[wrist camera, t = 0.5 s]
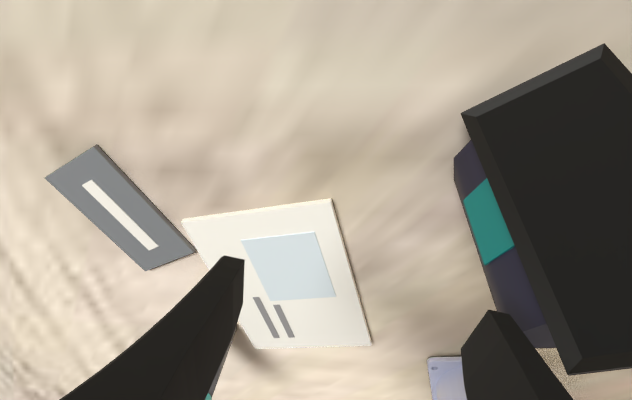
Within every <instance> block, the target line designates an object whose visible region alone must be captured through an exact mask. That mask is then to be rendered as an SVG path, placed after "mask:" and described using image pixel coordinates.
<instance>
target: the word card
mask: <svg viewBox="0 0 632 400" xmlns="http://www.w3.org/2000/svg"><path fill="white" fill-rule="evenodd" d="M45 179H46V180H47V181H48V182H49V183H50V184H52V185H53V186H54V187H55V188H56V189H57V190H58V191H59V192H60V193H61V194H62V195H63V196H64V197H66V198H67V199H68V200H69V201H70V202H71V203H72V204H73V205H74V206H75V207H76V208H77V209H79V210H80V211H81V212H82V213H83V214H84V215H85V216H86V217H87V218H88V219H89V220H90V221H91V222H93V223H94V224H95V225H96V226H97V227H98V228H99V229H100V230H101V231H102V232H103V233H104V234H106V235H107V236H108V237H109V238H110V239H111V240H112V241H113V242H114V243H115V244H116V245H117V246H118V247H120V248H121V249H122V250H123V251H124V252H125V253H126V254H127V255H128V256H129V257H130V258H131V259H133V260H134V261H135V262H136V263H137V264H138V265H139V266H140V267H141V268H142V269H143V270H144V271H147V270H150V269H153V268H155V267H158V266H160V265H163V264H165V263H168V262H171V261H173V260H176V259H178V258H181V257H184V256H186V255H189V254H191V253H194V252H195V250H196V249H195V248H194V247H193V246H192V245H191V244H190V243H189V242H188V241H187V240H186V239H185V238H184V237H183V235H182V234H181V233H180V232H179V231H178V230H177V229H176V228H175V227H174V226H173V225H172V224H171V223H170V222H169V221H168V220H167V218H166V217H165V216H164V215H163V214H162V213H161V212H160V211H159V210H158V209H157V208H156V207H155V206H154V205H153V204H152V203H151V201H150V200H149V199H148V198H147V197H146V196H145V195H144V194H143V193H142V192H141V191H140V190H139V189H138V188H137V187H136V186H135V185H134V183H133V182H132V181H131V180H130V179H129V178H128V177H127V176H126V175H125V174H124V173H123V172H122V171H121V170H120V169H119V168H118V166H117V165H116V164H115V163H114V162H113V161H112V160H111V159H110V158H109V157H108V156H107V155H106V154H105V153H104V152H103V151H102V149H101V148H100V147H99V146H98V145H97V144H96V145H95V146H93V147H92V148H90V149H89V150H87V151H86V152H84V153H82V154H81V155H79V156H78V157H76V158H75V159H73V160H71V161H70V162H68V163H67V164H65V165H64V166H62V167H60V168H59V169H57V170H56V171H54V172H53V173H51V174H50V175H48V176H47V177H45Z"/></svg>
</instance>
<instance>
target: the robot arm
mask: <svg viewBox="0 0 632 400" xmlns="http://www.w3.org/2000/svg"><path fill="white" fill-rule="evenodd" d="M244 264H245V260H244V259H239V258H235V257H230V256H225V255H224V256H223V257H221V258H220V259H219V260H218V261H217V263H216V264H215V265H214V266H213V267H212V268H211V269H210V271H209V272H208V273H207V274H206V275H205V276H204V277H203V278H202V279H201V280H200V281H199V282H198V284H197V285H196V286H195V287H194V288H193V289H192V290H191V291H190V292H189V293H188V294H187V295H186V296H185V297H184V298H183V299H182V300H181V301H180V302H179V303H178V304H177V305H176V306H175V307H174V308H173V309H172V310H171V311H169V312H168V313H167V314H166V315H165V316H164V317H163V318H162V319H161V320H160V321H159V322H157V323H156V324H155V325H154V326H153V327H152V328H151V329H150V330H149V331H147V332H146V333H145V334H144V335H143V336H142V337H141V338H140V339H138V340H137V341H136V342H135V343H134V344H132V345H131V346H130V347H129V348H128V349H126V350H125V351H124V352H123V353H121V354H120V355H119V356H118V357H117V358H115V359H114V360H113V361H111V362H110V363H109V364H108V365H106V366H105V367H104V368H102V369H101V370H100V371H99V372H97V373H96V374H94V375H93V376H92V377H90V378H89V379H88V380H86V381H85V382H84V383H82V384H81V385H79V386H78V387H77V388H75V389H74V390H73V391H71V392H70V393H68V394H67V395H66V396H64V397H63V398H61V399H60V400H205V399H206V396H207V394H208V392H209V389H210V387H211V385H212V383H213V380H214V378H215V376H216V373H217V371H218V369H219V367H220V364H221V362H222V360H223V357H224V355H225V353H226V351H227V348H228V346H229V344H230V341H231V339H232V337H233V334H234V331H235V327H236V324H237V321H238V318H239V315H240V312H241V308H242V305H243V291H244ZM427 365H428V372H429V378H430V385H431V392H432V398H433V400H573V398H572V397H571V396H570V395H569V393H568V392H567V391H566V389H565V388H564V387H563V385H562V384H561V383H560V382H559V380H558V379H557V378H556V376H555V375H554V374H553V372H552V371H551V370H550V368H549V367H548V365H547V364H546V363H545V361H544V360H543V359H542V357H541V356H540V355H539V353H538V352H537V351H536V349H535V348H534V346H533V345H532V344H531V342H530V341H529V340H528V338H527V337H526V335H525V334H524V333H523V331H522V330H521V329H520V327H519V326H518V325H517V323H516V322H515V321H514V319H513V318H512V317H511V315H510V314H506V313H502V312H497V311H492V310H488V311H487V312H486V314H485V315H484V317H483V318H482V320H481V321H480V322H479V324H478V325H477V327H476V328H475V330H474V331H473V332H472V334H471V335H470V337H469V338H468V340H467V341H466V343H465V344H464V345H463V347H462V348H461V357H430V358H428V359H427Z"/></svg>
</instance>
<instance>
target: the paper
mask: <svg viewBox="0 0 632 400" xmlns="http://www.w3.org/2000/svg"><path fill="white" fill-rule="evenodd" d="M181 224H182V225H183V227H184V229H185V230H186V232H187V234H188V236H189V237H190V239H191V241H192V242H193V244H194V246H195V247H196V249H197V251H198V253H199V254H200V256H201V258H202V259H203V261H204V263H205V264H206V266H207V268H208V270H209V271H210V269H211V268H212V267H213V266H214V265H215V264H216V263H217V261H218V260H219V259H220V258H221V257H223V256H224V255H225V256H230V257H235V258H239V259H244V260H245V264H244V291H243V305H242V308H241V312H240V315H239V318H238V321H239V322H240V324H241V326H242V327H243V329H244V331H245V332H246V334H247V336H248V337H249V339H250V341H251V343H252V344H253V346H254V348H255V349H272V348H307V347H342V346H372V340H371V337H370V333H369V330H368V326H367V323H366V319H365V316H364V312H363V309H362V305H361V302H360V298H359V295H358V291H357V287H356V284H355V280H354V277H353V273H352V270H351V266H350V263H349V259H348V256H347V252H346V249H345V245H344V241H343V238H342V234H341V231H340V227H339V224H338V220H337V217H336V213H335V210H334V206H333V203H332V199H331V198H329V199H322V200H315V201H308V202H300V203H293V204H286V205H279V206H271V207H264V208H257V209H250V210H243V211H235V212H228V213H221V214H214V215H206V216H199V217H192V218H185V219H183V220H182V222H181Z"/></svg>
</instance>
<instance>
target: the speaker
mask: <svg viewBox="0 0 632 400" xmlns="http://www.w3.org/2000/svg"><path fill="white" fill-rule="evenodd" d="M461 116H462V118H463V120H464V123H465V125H466V128H467V130H468V133H469V135H470V138H471V140H470V141H469V143H468V144H467V145H466V146H465V147H464V148H463V149H462V150H461V151H460V152H459V153H458V154H457V155H456V156H455V157H454V181H455V184H456V187H457V190H458V193H459V197H460V200H461V203H462V206H463V209H464V212H465V215H466V218H467V221H468V224H469V227H470V230H471V233H472V236H473V239H474V242H475V245H476V248H477V251H478V254H479V257H480V261H481V264H482V267H483V270H484V273H485V276H486V279H487V282H488V285H489V288H490V291H491V294H492V297H493V300H494V303H495V306H496V309H497V312H502V313H506V314H510V315H511V317H512V318H513V319H514V321H515V322H516V323H517V325H518V326H519V327H520V329H521V330H522V331H523V333H524V334H525V335H526V337H527V338H528V340H529V341H530V342H531V344H532V345H533V346H534V348H557V350H558V353H559V355H560V358H561V360H562V363H563V365H564V367H565V370H566V372H567V374H568V375H569V376H570V375H578V374H587V373H595V372H604V371H612V370H621V369H629V368H632V74H631V73H630V71H629V70H628V69H627V68H626V67H625V66H624V65H623V64H622V63H621V61H620V60H619V59H618V58H617V57H616V56H615V55H614V54H613V52H612V51H611V50H610V49H609V48H608V47H607V46H606V45H605V44H602V45H600V46H598V47H596V48H594V49H592V50H590V51H588V52H586V53H584V54H581V55H579V56H577V57H575V58H573V59H571V60H569V61H567V62H565V63H563V64H561V65H559V66H557V67H555V68H553V69H551V70H549V71H546V72H544V73H542V74H540V75H538V76H536V77H534V78H532V79H530V80H528V81H526V82H524V83H522V84H520V85H518V86H516V87H514V88H512V89H509V90H507V91H505V92H503V93H501V94H499V95H497V96H495V97H493V98H491V99H489V100H487V101H485V102H483V103H481V104H479V105H477V106H475V107H472V108H470V109H468V110H466V111H464V112H462V113H461Z"/></svg>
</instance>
